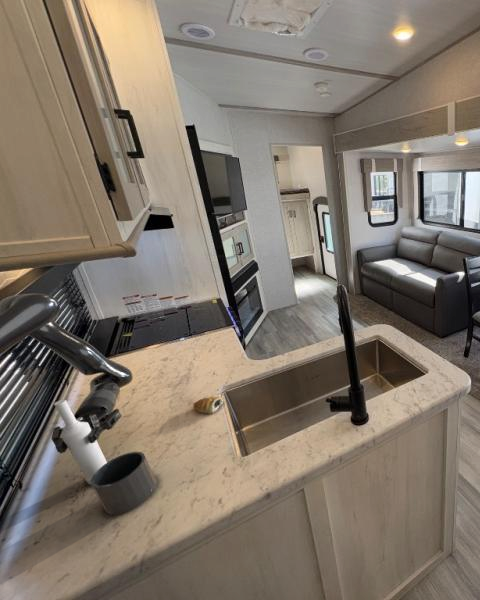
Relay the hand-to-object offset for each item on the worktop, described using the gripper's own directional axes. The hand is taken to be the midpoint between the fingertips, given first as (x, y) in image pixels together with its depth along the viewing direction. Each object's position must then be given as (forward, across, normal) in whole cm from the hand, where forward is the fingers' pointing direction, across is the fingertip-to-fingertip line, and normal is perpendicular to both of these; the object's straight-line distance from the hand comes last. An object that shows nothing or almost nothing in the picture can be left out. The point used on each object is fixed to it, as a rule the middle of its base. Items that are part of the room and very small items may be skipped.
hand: (76, 444), depth 77 cm
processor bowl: (+9, +9, +14) cm, 19 cm away
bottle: (-3, 0, +14) cm, 14 cm away
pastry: (-19, +26, +14) cm, 35 cm away
